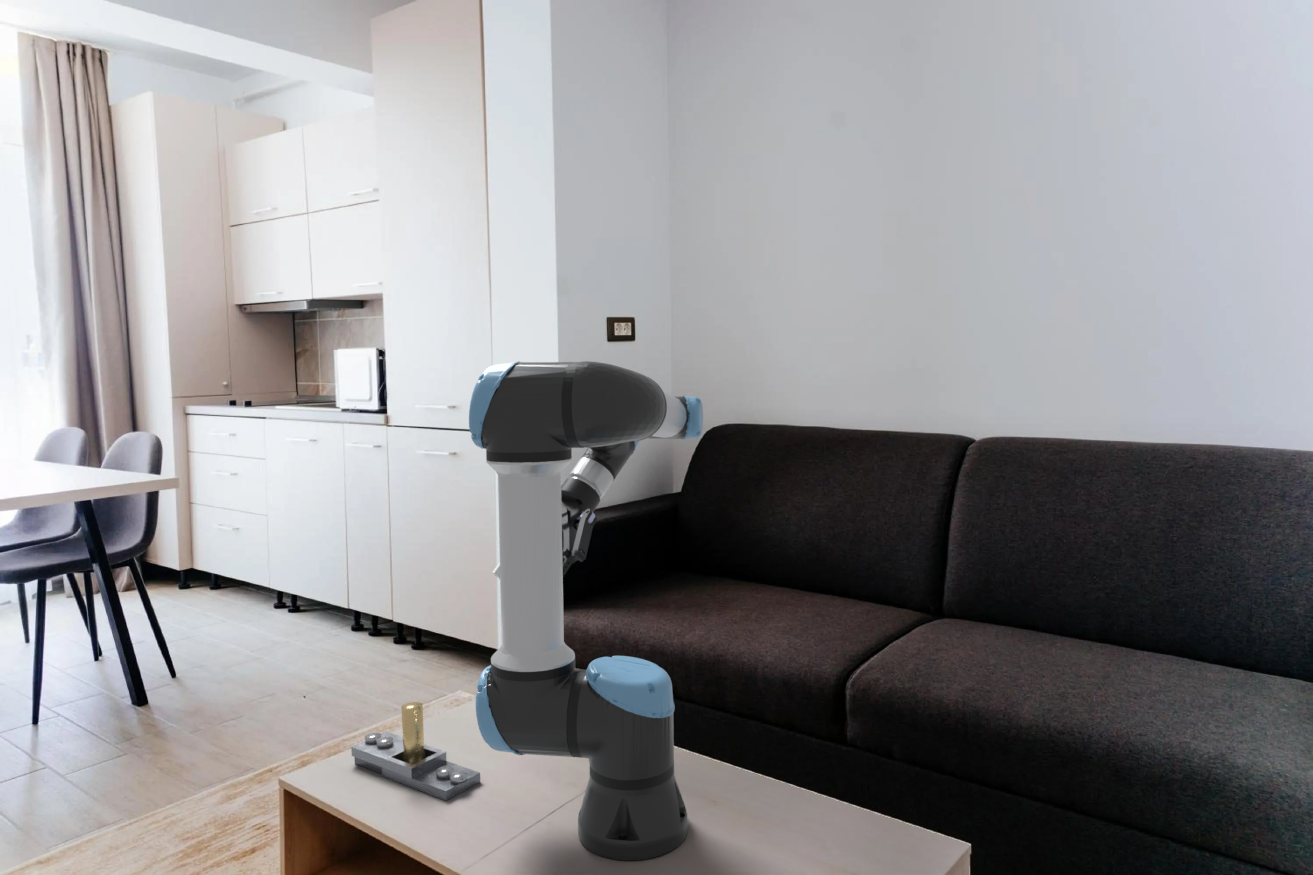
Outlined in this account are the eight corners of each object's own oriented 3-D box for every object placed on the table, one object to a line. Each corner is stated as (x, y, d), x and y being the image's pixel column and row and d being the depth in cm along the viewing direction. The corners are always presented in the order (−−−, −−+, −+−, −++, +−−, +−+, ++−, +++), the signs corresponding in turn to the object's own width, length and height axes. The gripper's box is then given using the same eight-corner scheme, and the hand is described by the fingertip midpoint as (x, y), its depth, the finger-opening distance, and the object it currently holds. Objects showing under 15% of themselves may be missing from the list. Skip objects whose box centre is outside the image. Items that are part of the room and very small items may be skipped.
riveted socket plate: (481, 782, 136) (481, 758, 135) (447, 801, 130) (446, 776, 130) (386, 748, 148) (385, 726, 148) (350, 764, 143) (349, 741, 142)
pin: (428, 773, 139) (425, 706, 138) (408, 779, 137) (405, 711, 136) (420, 766, 141) (417, 700, 140) (401, 772, 139) (398, 705, 139)
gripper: (641, 507, 155) (578, 608, 146) (554, 494, 173) (492, 583, 164) (618, 481, 151) (551, 582, 142) (531, 470, 169) (467, 560, 160)
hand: (520, 583), depth 153 cm, fingers open, 13 cm apart
